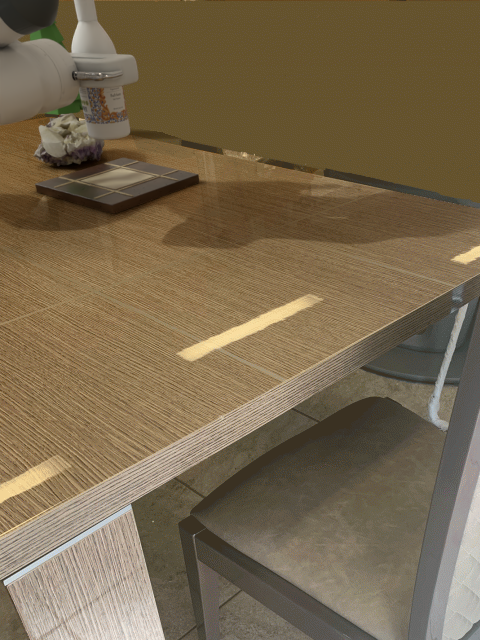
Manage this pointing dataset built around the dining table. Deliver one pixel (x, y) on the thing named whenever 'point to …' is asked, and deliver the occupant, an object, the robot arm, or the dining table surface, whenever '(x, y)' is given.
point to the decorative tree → (55, 35)
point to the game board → (117, 184)
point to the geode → (67, 142)
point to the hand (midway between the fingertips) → (98, 61)
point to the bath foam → (99, 103)
